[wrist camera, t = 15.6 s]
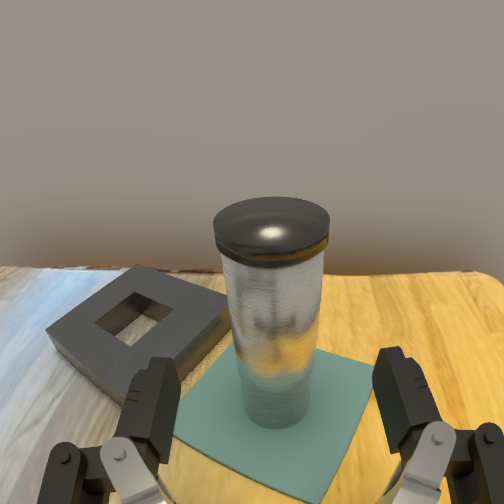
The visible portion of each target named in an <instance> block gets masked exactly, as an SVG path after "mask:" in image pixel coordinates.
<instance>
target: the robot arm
mask: <svg viewBox="0 0 504 504" xmlns="http://www.w3.org/2000/svg"><path fill="white" fill-rule="evenodd" d="M372 385H373V389H374V393H375V396H376V400H377V403H378V407H379V410H380V414H381V418H382V422H383V425H384V429H385V433H386V437H387V441H388V445H389V449H390V453H391V454H394V453H399V452H400V456H401V459H400V461H399V463H398V465H397V467H396V469H395V471H394V473H393V475H392V477H391V479H390V480H389V482H388V484H387V486H386V488H385V490H384V491H383V493H382V495H381V496H380V498H379V499H378V501H377V502H376V503H375V504H437V503H438V501H439V498H440V495H441V490H439V486H440V483H441V481H442V479H443V477H446V479H447V483H448V488H449V493H450V499H451V504H504V435H503V432H502V430H501V429H500V427H499V426H497V425H496V424H494V423H490V422H488V423H484V424H482V425H480V426H479V427H478V428H477V429H476V430H457V429H453V427H452V426H451V425H449V424H448V423H446V422H443V420H442V418H441V416H440V414H439V411H438V408H437V406H436V403H435V401H434V398H433V396H432V393H431V391H430V388H428V383H427V381H426V379H425V376H424V374H423V371H422V369H421V367H420V365H419V364H418V363H417V362H416V361H415V360H414V359H413V358H412V357H411V358H405V356H404V354H403V351H402V349H401V348H400V347H399V346H396V347H389V348H382V349H380V351H379V354H378V357H377V360H376V363H375V366H374V369H373V373H372ZM180 394H181V384H180V380H179V377H178V374H177V371H176V369H175V366H174V363H173V360H172V358H170V357H152V358H151V359H150V362H149V365H148V368H147V370H143V369H140V370H139V371H138V372H137V373H136V374H135V376H134V377H133V378H132V380H131V383H130V386H129V389H128V392H127V395H126V398H125V399H126V401H125V402H124V405H123V408H122V411H121V415H120V418H119V421H118V425H117V428H116V431H115V434H114V436H113V437H112V438H111V439H109V440H107V441H106V442H105V443H104V444H103V445H102V446H98V447H90V448H79V449H78V448H77V447H76V446H75V445H74V444H72V443H70V442H61V443H59V444H57V445H55V446H54V447H53V449H52V450H51V452H50V455H49V459H48V462H47V466H46V469H45V473H44V477H43V481H42V485H41V489H40V493H39V497H38V502H37V504H108V503H109V496H110V492H117V494H118V496H119V498H120V500H121V502H122V504H178V503H177V502H176V500H175V499H174V497H173V496H172V494H171V493H170V491H169V490H168V488H167V486H166V485H165V483H164V482H163V480H162V479H161V477H160V475H159V474H158V467H159V463H161V464H168V461H169V455H170V449H171V443H172V438H173V432H174V426H175V421H176V415H177V410H178V405H179V400H180Z"/></svg>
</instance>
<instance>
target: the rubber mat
mask: <svg viewBox="0 0 504 504" xmlns="http://www.w3.org/2000/svg"><path fill="white" fill-rule="evenodd" d="M373 369H374V366H373V365H369V364H366V363H362V362H359V361H355V360H352V359H349V358H345V357H342V356H339V355H335V354H332V353H329V352H326V351H322V350H319V349H316V355H315V364H314V372H313V381H312V389H311V396H310V404H309V409H308V411H307V413H306V415H305V416H304V418H303V419H302V420H301V421H299V422H298V423H297V424H295V425H293V426H291V427H288V428H284V429H267V428H264V427H261V426H259V425H257V424H255V423H254V422H253V421H251V420H250V419H249V417H248V416H247V414H246V412H245V410H244V405H243V399H242V393H241V386H240V380H239V374H238V367H237V361H236V354H235V348H234V341H233V342H232V343H231V345H230V346H229V347H228V348H227V349H226V350H225V351H224V353H223V354H222V355H221V356H220V357H219V358H218V359H217V360H216V362H215V363H214V364H213V365H212V366H211V367H210V368H209V369H208V371H207V372H206V373H205V374H204V375H203V376H202V377H201V378H200V379H199V380H198V382H197V383H196V384H195V385H194V386H193V387H192V388H191V389H190V390H189V391H188V393H187V394H186V395H185V396H184V397H183V398H182V399H181V400H180V401H179V405H178V410H177V415H176V421H175V426H174V432H173V436H174V437H175V438H177V439H179V440H180V441H182V442H183V443H185V444H187V445H188V446H190V447H192V448H193V449H195V450H197V451H198V452H200V453H202V454H204V455H205V456H207V457H209V458H211V459H213V460H214V461H216V462H218V463H220V464H222V465H224V466H226V467H227V468H229V469H231V470H233V471H235V472H237V473H239V474H241V475H243V476H245V477H247V478H249V479H251V480H254V481H256V482H258V483H260V484H262V485H264V486H267V487H269V488H271V489H273V490H276V491H278V492H280V493H283V494H285V495H288V496H290V497H293V498H295V499H298V500H300V501H303V502H306V503H308V504H319V503H320V501H321V500H322V498H323V496H324V494H325V492H326V490H327V488H328V487H329V485H330V483H331V481H332V479H333V477H334V475H335V473H336V471H337V469H338V467H339V465H340V463H341V461H342V459H343V457H344V454H345V452H346V450H347V448H348V446H349V444H350V441H351V439H352V437H353V435H354V432H355V430H356V428H357V425H358V423H359V421H360V418H361V416H362V413H363V411H364V408H365V406H366V403H367V401H368V398H369V395H370V393H371V390H372V387H373V385H372V373H373Z"/></svg>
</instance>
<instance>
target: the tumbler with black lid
mask: <svg viewBox="0 0 504 504" xmlns="http://www.w3.org/2000/svg"><path fill="white" fill-rule="evenodd" d="M329 223H330V218H329V215H328V213H327V212H326V210H324V209H323V208H322V207H320V206H319V205H317V204H314V203H312V202H309V201H306V200H302V199H297V198H290V197H262V198H254V199H249V200H244V201H241V202H238V203H235V204H232V205H230V206H228V207H226V208H224V209H223V210H221V211H220V212H219V213H218V214H217V215H216V216H215V218H214V221H213V227H214V234H215V241H216V246H217V248H218V250H219V251H220V252H221V255H222V263H223V270H224V278H225V285H226V292H227V300H228V307H229V314H230V321H231V328H232V334H233V341H234V348H235V354H236V361H237V367H238V374H239V380H240V386H241V393H242V399H243V405H244V410H245V412H246V414H247V416H248V417H249V419H250V420H251V421H253V422H254V423H255V424H257V425H259V426H261V427H264V428H267V429H284V428H288V427H291V426H293V425H295V424H297V423H298V422H299V421H301V420H302V419H303V418H304V416H305V415H306V413H307V411H308V409H309V404H310V396H311V389H312V381H313V372H314V364H315V355H316V346H317V336H318V325H319V314H320V302H321V289H322V275H323V259H324V249H325V247H326V246H327V244H328V240H329Z"/></svg>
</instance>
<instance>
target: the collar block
mask: <svg viewBox="0 0 504 504" xmlns="http://www.w3.org/2000/svg"><path fill="white" fill-rule="evenodd" d="M141 314H144V315H146V316H148V317H150V318H152V319H154V320H156V321H158V322H159V323H158V324H156V325H155V326H154V327H153V328H152V329H151V330H150V331H148V332H147V333H146V334H145V335H144V336H143V337H141V338H140V339H139V340H138V341H137V342H136V343H135V344H133V345H132V346H131V347H130V346H129V345H127V344H125V343H124V342H122V341H121V340H119V339H118V338H116V337H115V335H116V334H117V333H119V332H120V331H121V330H122V329H124V328H125V327H126V326H127V325H128V324H130V323H131V322H132V321H133V320H135V319H136V318H137V317H138V316H139V315H141ZM230 329H231V321H230V314H229V307H228V300H227V295H225V294H222V293H219V292H216V291H213V290H210V289H207V288H204V287H201V286H198V285H195V284H193V283H190V282H187V281H184V280H181V279H178V278H175V277H173V276H170V275H167V274H164V273H162V272H159V271H156V270H153V269H151V268H148V267H145V266H142V265H140V264H137V265H135V266H134V267H132V268H131V269H129V270H128V271H126V272H125V273H123V274H122V275H120V276H119V277H118V278H116V279H115V280H113V281H112V282H110V283H109V284H107V285H106V286H105V287H103V288H102V289H100V290H99V291H98V292H96V293H95V294H93V295H92V296H90V297H89V298H88V299H86V300H85V301H83V302H82V303H81V304H79V305H78V306H77V307H75V308H74V309H72V310H71V311H70V312H68V313H67V314H66V315H64V316H63V317H61V318H60V319H59V320H57V321H56V322H55V323H53V324H52V325H51V326H49V327H48V328H47V329H45V330H46V332H47V334H48V335H49V337H50V339H51V341H52V342H53V344H54V346H55V348H56V349H57V351H58V352H59V353H60V354H61V355H62V356H63V357H65V358H66V359H67V360H68V361H69V362H70V363H71V364H72V365H73V366H74V367H75V368H76V369H77V370H78V371H80V372H81V373H82V374H83V375H84V376H85V377H86V378H87V379H89V380H90V381H91V382H92V383H93V384H94V385H96V386H97V387H98V388H99V389H100V390H102V391H103V392H104V393H105V394H106V395H108V396H109V397H110V398H111V399H113V400H114V401H115V402H116V403H118V404H119V405H120V406H121V407H123V405H124V402H125V401H126V399H125V398H126V395H127V392H128V389H129V386H130V383H131V380H132V378H133V377H134V376H135V374H136V373H137V372H138V371H139V370H140V369H143V370H147V368H148V365H149V362H150V359H151V358H152V357H170V358H172V360H173V363H174V366H175V369H176V371H177V374H178V377H179V380H180V383H181V381H182V380H183V379H184V378H185V377H186V376H187V375H188V374H189V373H190V372H191V371H192V370H193V369H194V368H195V367H196V366H197V365H198V363H199V362H200V361H201V360H202V359H203V358H204V357H205V356H206V355H207V354H208V353H209V352H210V351H211V350H212V348H213V347H214V346H215V345H216V344H217V343H218V342H219V341H220V340H221V339H222V338H223V337H224V335H225V334H226V333H227V332H228V331H229V330H230Z"/></svg>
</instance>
